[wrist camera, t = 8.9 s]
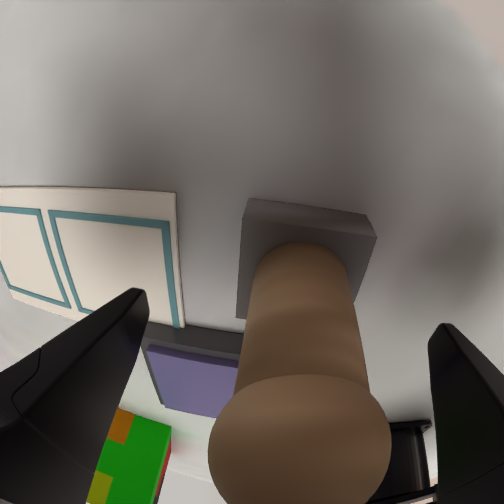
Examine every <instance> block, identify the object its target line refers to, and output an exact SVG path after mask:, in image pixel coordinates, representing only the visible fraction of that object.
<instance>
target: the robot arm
mask: <svg viewBox="0 0 504 504" xmlns="http://www.w3.org/2000/svg"><path fill="white" fill-rule="evenodd" d="M149 315H150V309H149V304H148V299H147V294H146V291H145V290H144V289H140V288H135V287H132V288H130V289H128V290H126V291H125V292H123V293H122V294H120V295H119V296H117V297H115V298H114V299H112V300H111V301H109V302H108V303H106V304H104V305H103V306H101V307H100V308H98V309H97V310H95V311H94V312H92V313H91V314H89V315H87V316H86V317H84V318H83V319H81V320H80V321H78V322H77V323H75V324H74V325H72V326H71V327H69V328H68V329H66V330H65V331H63V332H62V333H60V334H59V335H57V336H56V337H54V338H53V339H51V340H50V341H48V342H47V343H45V344H44V345H42V347H41V348H38V349H37V350H35V351H34V352H32V353H31V354H29V355H28V356H26V357H25V358H23V359H22V360H20V361H19V362H17V363H15V364H14V365H12V366H10V367H9V368H7V369H5V370H4V371H2V372H0V504H86V501H87V497H88V494H89V490H90V487H91V484H92V481H93V478H94V473H95V471H96V468H97V465H98V461H99V458H100V455H101V453H102V450H103V447H104V444H105V441H106V438H107V435H108V432H109V430H110V427H111V424H112V421H113V419H114V416H115V413H116V411H117V408H118V405H119V403H120V400H121V397H122V395H123V392H124V390H125V387H126V385H127V382H128V380H129V377H130V375H131V372H132V370H133V367H134V365H135V362H136V359H137V356H138V353H139V349H140V346H141V342H142V339H143V336H144V332H145V329H146V326H147V322H148V319H149ZM428 357H429V370H430V385H431V395H432V402H433V410H434V419H435V430H436V443H437V463H438V484H435V485H434V486H432V487H430V478H429V470H428V463H427V456H426V449H425V443H424V438H423V433H424V432H425V431H426V430H427V429H429V428H430V427H431V426H432V422H431V420H428V421H420V422H412V423H402V424H390V425H389V427H390V432H391V444H392V446H391V456H390V461H389V465H388V469H387V472H386V474H385V476H384V478H383V480H382V482H381V484H380V485H379V487H378V489H377V490H376V492H375V493H374V494H373V495H372V496H371V497H370V499H369V500H368V501H367V502H366V503H365V504H410V503H414V502H417V501H421V500H424V499H428V498H431V497H433V502H430V503H427V504H504V375H503V374H502V373H501V372H500V371H499V370H498V369H497V368H496V367H495V366H494V365H493V363H492V362H491V361H490V360H489V359H488V358H487V357H486V356H485V355H484V354H483V353H482V352H481V351H480V350H479V349H478V348H477V347H476V346H475V345H473V344H472V343H471V342H470V341H469V340H468V339H467V338H466V337H465V336H464V335H463V334H462V333H461V332H460V331H459V330H458V329H457V328H456V327H455V326H454V325H452V324H450V323H441V324H439V325H438V327H437V328H436V330H435V332H434V333H433V335H432V336H431V338H430V339H429V342H428Z"/></svg>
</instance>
